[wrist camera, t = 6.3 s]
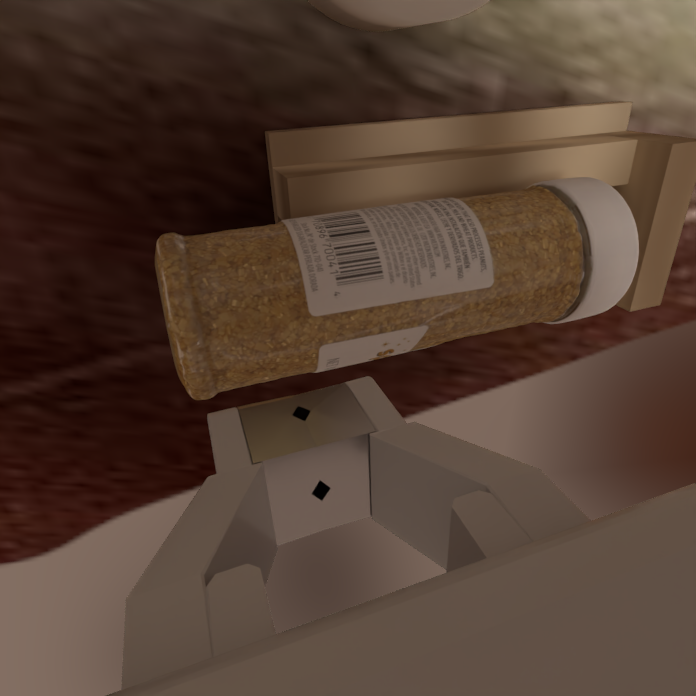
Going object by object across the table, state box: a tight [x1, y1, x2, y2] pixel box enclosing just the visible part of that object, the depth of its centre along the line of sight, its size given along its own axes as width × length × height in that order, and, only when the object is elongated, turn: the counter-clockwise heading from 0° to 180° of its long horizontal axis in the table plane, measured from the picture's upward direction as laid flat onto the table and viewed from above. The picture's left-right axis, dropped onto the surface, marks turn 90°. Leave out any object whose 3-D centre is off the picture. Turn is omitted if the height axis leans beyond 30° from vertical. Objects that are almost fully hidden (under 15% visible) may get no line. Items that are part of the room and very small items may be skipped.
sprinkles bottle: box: [155, 177, 639, 400], centre depth 15 cm, size 5×5×13 cm
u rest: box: [265, 101, 696, 312], centre depth 18 cm, size 14×8×4 cm, turn 93°
